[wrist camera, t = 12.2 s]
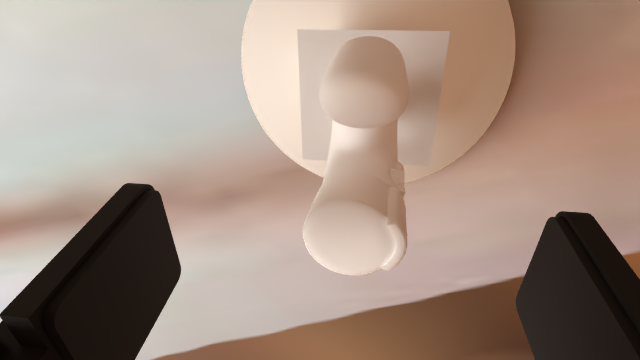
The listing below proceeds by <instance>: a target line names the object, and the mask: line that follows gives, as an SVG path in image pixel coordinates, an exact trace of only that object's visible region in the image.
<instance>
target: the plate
mask: <svg viewBox="0 0 640 360" xmlns="http://www.w3.org/2000/svg"><path fill="white" fill-rule="evenodd" d="M297 29H317V30H398V31H450V35H449V42H448V48H447V55H446V61H445V68H444V74H443V81H442V87H441V94H440V100H439V107H438V113H437V120H436V126H435V133H434V139H433V146H432V152H431V159H430V165H429V166H418V165H403V166H404V183H409V182H412V181H415V180H418V179H421V178H424V177H426V176H428V175H431V174H433V173H435V172H437V171H439V170H441V169H443V168H444V167H446V166H448V165H449V164H451V163H453V162H454V161H455V160H457V159H458V158H459V157H460V156H462V155H463V154H464V153H466V152H467V151H468V150H469V149H470V148H471V147H472V146H473V145H474V144H475V143H476V142H477V141H478V140H479V139H480V137H481V136H482V135H483V134H484V133H485V131H486V130H487V129H488V128H489V126H490V125H491V123H492V121H493V120H494V118H495V117H496V115H497V114H498V112H499V110H500V108H501V105H502V103H503V101H504V99H505V97H506V94H507V91H508V88H509V85H510V82H511V78H512V73H513V68H514V62H515V45H516V41H515V30H514V21H513V17H512V13H511V9H510V5H509V2H508V0H252V3H251V6H250V9H249V11H248V14H247V17H246V21H245V26H244V31H243V36H242V48H241V60H242V73H243V79H244V85H245V89H246V92H247V95H248V99H249V102H250V104H251V106H252V109H253V111H254V113H255V115H256V117H257V119H258V121H259V122H260V124H261V126H262V127H263V129H264V131H265V132H266V133H267V134H268V136H269V137H270V138H271V140H272V141H273V142H274V143H275V144H276V145H277V146H278V147H279V148H280V149H281V150H282V151H283V152H284V153H285V154H286V155H287V156H288V157H290V158H291V159H292V160H293V161H295V162H296V163H298V164H299V165H301V166H302V167H304V168H305V169H307V170H309V171H311V172H313V173H315V174H317V175H319V176H321V177H324V175H325V171H326V166H327V161H325V160H306V159H303V154H302V130H301V107H300V83H299V60H298V37H297Z"/></svg>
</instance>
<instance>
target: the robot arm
mask: <svg viewBox="0 0 640 360" xmlns="http://www.w3.org/2000/svg"><path fill="white" fill-rule="evenodd" d="M180 274H181V266H180V262H179V258H178V255H177V251H176V248H175V244H174V241H173V237H172V234H171V230H170V227H169V223H168V220H167V216H166V212H165V209H164V205H163V202H162V198H161V195H160V193H159V192H158V191H155V190H154V188H153V187H152V186H151V185H149V184H134V183H127V184H125V185H123V186H122V187H121V188H120V189H119V190H118V191H117V192H116V193H115V195H114V196H113V197H112V198H111V199H110V200H109V201H108V202H107V203H106V204H105V205H104V206H103V207H102V208H101V209H100V210H99V211H98V212H97V213H96V214H95V215H94V216H93V217H92V219H91V220H90V221H89V222H88V223H87V224H86V225H85V226H84V227H83V228H82V229H81V230H80V231H79V232H78V233H77V234H76V235H75V236H74V237H73V238H72V239H71V240H70V241H69V243H68V244H67V245H66V246H65V247H64V248H63V249H62V250H61V251H60V252H59V253H58V254H57V255H56V256H55V257H54V258H53V259H52V260H51V261H50V262H49V263H48V264H47V265H46V267H45V268H44V269H43V270H42V271H41V272H40V273H39V274H38V275H37V276H36V277H35V278H34V279H33V280H32V281H31V282H30V283H29V284H28V285H27V286H26V287H25V288H24V289H23V291H22V292H21V293H20V294H19V295H18V296H17V297H16V298H15V299H14V300H13V301H12V302H11V303H10V304H9V305H8V306H7V307H6V308H5V309H4V310H3V311H2V312H1V314H0V317H1V319H2V320H3V321H2V322H1V323H0V360H135V358H136V357H137V355H138V353H139V351H140V349H141V348H142V346H143V344H144V342H145V340H146V338H147V337H148V335H149V333H150V331H151V329H152V328H153V326H154V324H155V322H156V320H157V318H158V317H159V315H160V313H161V311H162V309H163V308H164V306H165V304H166V302H167V300H168V298H169V297H170V295H171V293H172V291H173V289H174V288H175V286H176V284H177V282H178V280H179V278H180ZM516 307H517V311H518V314H519V317H520V320H521V322H522V325H523V328H524V331H525V333H526V336H527V339H528V342H529V344H530V347H531V350H532V352H533V355H534V358H535V360H640V279H639V278H638V277H637V275H636V274H635V273H634V271H633V270H632V269H631V267H630V266H629V264H628V263H627V262H626V260H625V259H624V258H623V256H622V255H621V254H620V252H619V251H618V250H617V248H616V247H615V245H614V244H613V243H612V241H611V240H610V239H609V237H608V236H607V235H606V233H605V232H604V231H603V229H602V228H601V226H600V225H599V224H598V222H597V221H596V220H595V218H594V217H593V216H592V215H591V214H589V213H579V212H563V211H562V212H559V213H558V214H557V215H556V216H555V217H550V218H549V219H548V221H547V222H546V225H545V227H544V230H543V232H542V235H541V237H540V240H539V242H538V245H537V247H536V250H535V252H534V255H533V257H532V259H531V262H530V264H529V267H528V269H527V272H526V274H525V277H524V279H523V282H522V284H521V287H520V289H519V292H518V294H517V298H516Z"/></svg>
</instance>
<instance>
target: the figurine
mask: <svg viewBox="0 0 640 360" xmlns="http://www.w3.org/2000/svg"><path fill="white" fill-rule="evenodd" d="M449 35H450V31H398V30H317V29H297V37H298V60H299V83H300V107H301V130H302V154H303V159H306V160H325V161H327V166H326V171H325V175H324V179H323V183H322V186H321V187H320V189H319V191H318V193H317V195H316V197H315V199H314V201H313V204H312V206H311V208H310V210H309V213H308V215H307V217H306V219H305V222H304V225H303V239H304V243H305V246H306V248H307V250H308V251H309V253H310V254H311V255H312V257H313V258H314V259H315V260H316V261H317V262H318V263H320V264H321V265H323V266H324V267H326V268H327V269H329V270H331V271H334V272H337V273H340V274H345V275H364V274H369V273H372V272H375V271H377V270H379V269H380V268H382V269H384V270H391V269H392V268H394V267H395V266H397V265H398V264H399V262H400V261H401V259H402V258H403V256H404V255H405V252H406V248H407V229H406V208H405V202H404V199H403V197H404V194H405V188H404V166H403V165H418V166H429V165H430V159H431V152H432V146H433V139H434V133H435V126H436V120H437V113H438V107H439V100H440V94H441V87H442V81H443V74H444V68H445V61H446V55H447V48H448V42H449Z"/></svg>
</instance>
